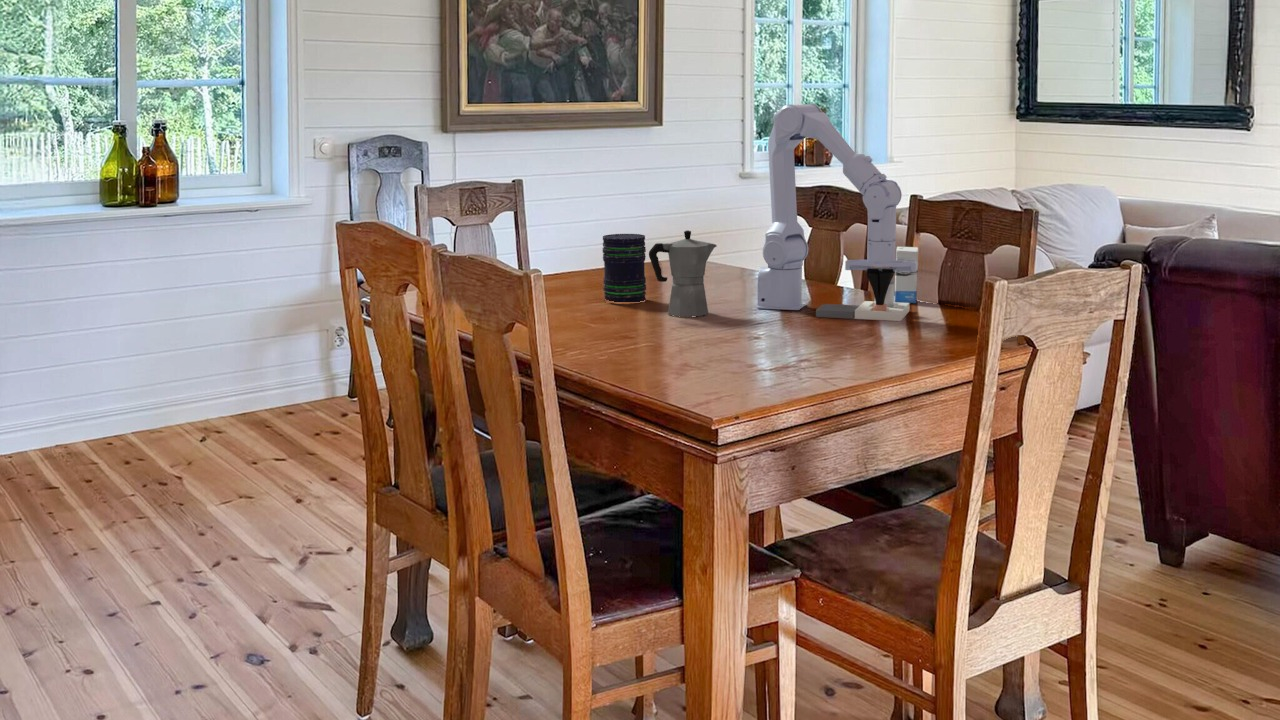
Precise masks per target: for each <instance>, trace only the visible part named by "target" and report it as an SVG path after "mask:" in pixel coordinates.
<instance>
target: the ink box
mask: <svg viewBox="0 0 1280 720" xmlns="http://www.w3.org/2000/svg"><path fill="white" fill-rule="evenodd" d="M895 260H898V261H912V262H917V271H916V272H910V271H895V274H894V302H899V303H910V304H917V294H918V291H917V290H918V277H919V269H918V268H919V247H917V246H896V248H895Z"/></svg>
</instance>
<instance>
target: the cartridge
mask: <svg viewBox="0 0 1280 720" xmlns="http://www.w3.org/2000/svg"><path fill="white" fill-rule="evenodd" d="M874 301H875V300H874ZM894 302H895V280H893V279H892V280H891V282H890V284H889V287H888V290H887V293H886V296H885V302H884V303H885V304H887V307H889V308H894ZM875 303H876V301H875Z"/></svg>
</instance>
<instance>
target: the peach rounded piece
mask: <svg viewBox="0 0 1280 720" xmlns="http://www.w3.org/2000/svg"><path fill="white" fill-rule="evenodd" d="M873 311H887V304H885V303H884V304H883V305H876V303H874V304H873Z"/></svg>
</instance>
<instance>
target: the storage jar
mask: <svg viewBox="0 0 1280 720" xmlns="http://www.w3.org/2000/svg"><path fill="white" fill-rule="evenodd" d="M645 240H646V235H644V234H641V233H640V234H639V233H614V234H605V235H603V236H602V241H603V242H602V261H603V263H604V264H603V266H604V271H603V272H604V277H603V280H602V281H603V286H602V288H603V296H604V298H605V299H606V300H609V301H614V302H640V301H644V300H646V301H647V298H646V294H647V292H646V290H647V284H646V283H647V282H646V280H647V277H646V276H645V273H646V272H645V261H646V257H647V256H646V251H647V248H646V242H645Z"/></svg>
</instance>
